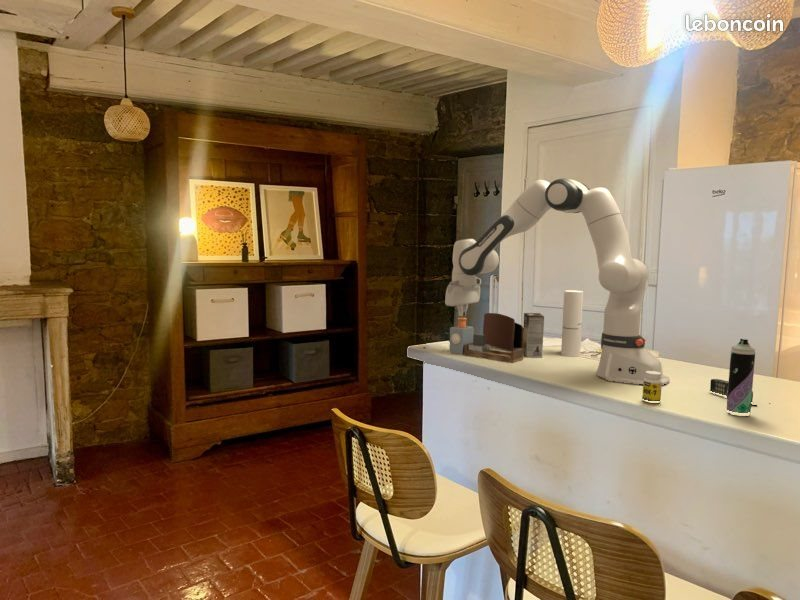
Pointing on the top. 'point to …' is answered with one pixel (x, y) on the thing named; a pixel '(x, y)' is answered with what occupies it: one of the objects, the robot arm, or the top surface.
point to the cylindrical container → (572, 323)
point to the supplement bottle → (652, 386)
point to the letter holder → (502, 332)
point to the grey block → (460, 339)
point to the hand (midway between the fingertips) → (462, 315)
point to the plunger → (462, 322)
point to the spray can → (741, 377)
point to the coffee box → (533, 335)
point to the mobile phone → (720, 387)
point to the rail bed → (496, 355)
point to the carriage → (479, 344)
